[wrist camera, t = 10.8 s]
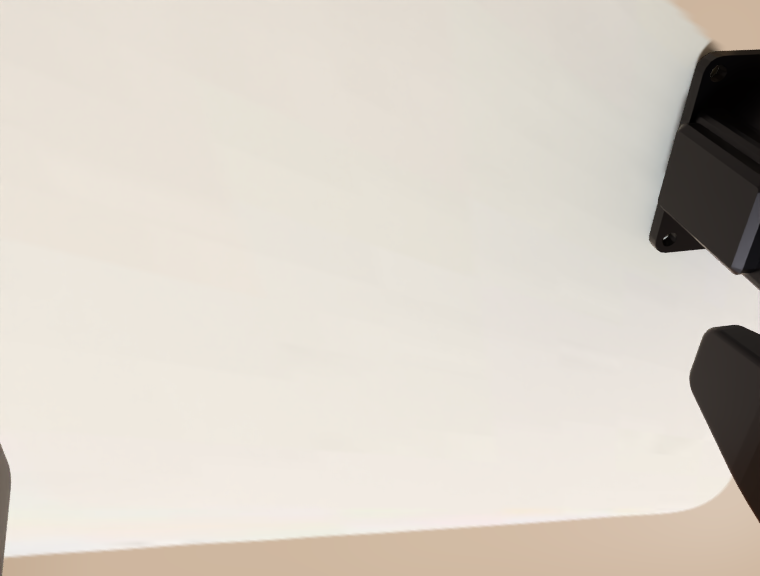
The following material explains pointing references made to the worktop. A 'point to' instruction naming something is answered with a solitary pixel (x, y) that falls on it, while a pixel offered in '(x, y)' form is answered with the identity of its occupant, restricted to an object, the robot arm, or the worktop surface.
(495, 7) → the worktop surface
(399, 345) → the worktop surface
